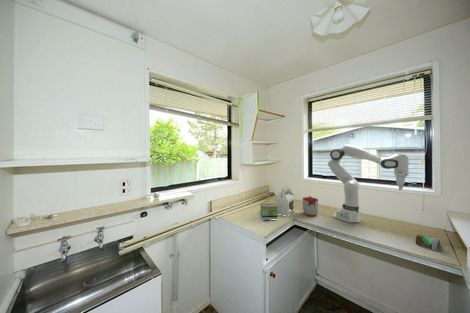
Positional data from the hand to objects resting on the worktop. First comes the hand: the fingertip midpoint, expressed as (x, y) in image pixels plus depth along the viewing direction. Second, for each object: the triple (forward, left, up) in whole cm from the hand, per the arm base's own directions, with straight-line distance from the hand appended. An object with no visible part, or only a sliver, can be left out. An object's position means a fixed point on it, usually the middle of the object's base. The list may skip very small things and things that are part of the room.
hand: (400, 189), depth 145 cm
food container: (+10, -21, -31) cm, 39 cm away
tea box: (-91, -65, -34) cm, 117 cm away
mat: (+17, -20, -34) cm, 43 cm away
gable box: (-89, -37, -34) cm, 103 cm away
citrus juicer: (-67, -25, -34) cm, 79 cm away
